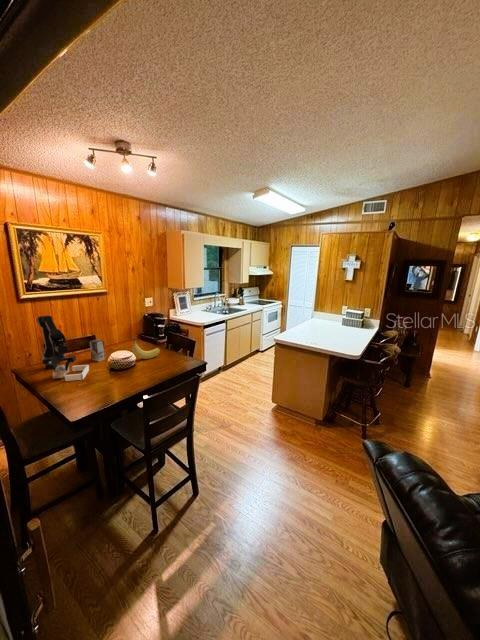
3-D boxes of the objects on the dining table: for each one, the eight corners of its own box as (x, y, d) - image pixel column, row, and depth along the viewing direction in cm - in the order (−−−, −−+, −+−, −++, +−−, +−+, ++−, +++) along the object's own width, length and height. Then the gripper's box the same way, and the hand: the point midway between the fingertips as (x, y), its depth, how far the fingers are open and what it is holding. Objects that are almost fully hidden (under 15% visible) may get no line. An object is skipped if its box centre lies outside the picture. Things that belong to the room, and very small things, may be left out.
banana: (158, 354, 232) (157, 332, 227) (161, 356, 227) (160, 334, 223) (132, 360, 218) (130, 336, 214) (134, 362, 214) (132, 338, 209)
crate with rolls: (52, 378, 179) (51, 371, 178) (59, 371, 190) (58, 365, 189) (64, 377, 181) (63, 371, 180) (69, 370, 192) (68, 364, 191)
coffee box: (105, 359, 219) (103, 340, 215) (98, 361, 213) (96, 342, 209) (98, 357, 222) (96, 338, 219) (91, 359, 217) (89, 340, 213)
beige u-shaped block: (65, 381, 179) (64, 375, 178) (73, 371, 195) (72, 365, 194) (83, 379, 182) (82, 374, 181) (89, 369, 198) (88, 364, 197)
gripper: (37, 355, 171) (40, 377, 175) (70, 353, 176) (72, 374, 180) (44, 349, 182) (47, 370, 185) (75, 347, 187) (77, 368, 190)
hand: (61, 371), depth 185 cm, fingers closed on crate with rolls, 7 cm apart
